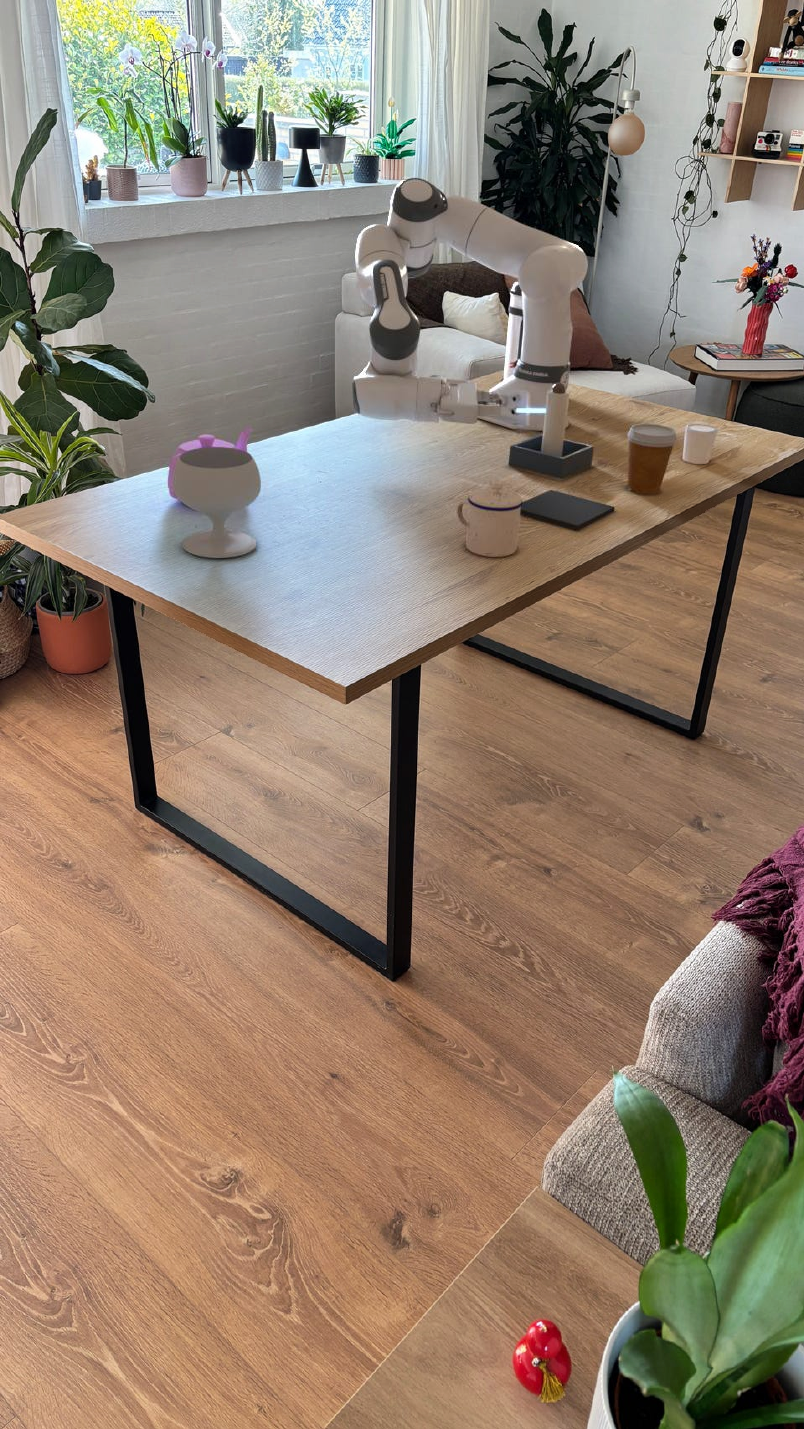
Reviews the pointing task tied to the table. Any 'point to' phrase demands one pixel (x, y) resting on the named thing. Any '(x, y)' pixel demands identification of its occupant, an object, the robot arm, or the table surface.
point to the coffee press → (514, 329)
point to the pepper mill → (555, 420)
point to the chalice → (217, 496)
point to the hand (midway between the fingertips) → (499, 403)
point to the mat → (564, 510)
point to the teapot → (202, 443)
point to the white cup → (698, 443)
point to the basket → (551, 457)
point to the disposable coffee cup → (648, 456)
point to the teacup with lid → (491, 520)
